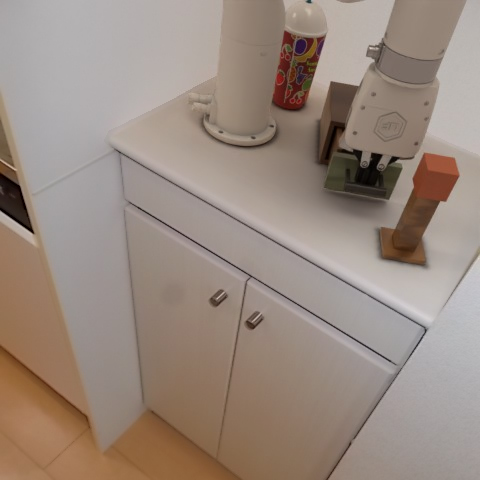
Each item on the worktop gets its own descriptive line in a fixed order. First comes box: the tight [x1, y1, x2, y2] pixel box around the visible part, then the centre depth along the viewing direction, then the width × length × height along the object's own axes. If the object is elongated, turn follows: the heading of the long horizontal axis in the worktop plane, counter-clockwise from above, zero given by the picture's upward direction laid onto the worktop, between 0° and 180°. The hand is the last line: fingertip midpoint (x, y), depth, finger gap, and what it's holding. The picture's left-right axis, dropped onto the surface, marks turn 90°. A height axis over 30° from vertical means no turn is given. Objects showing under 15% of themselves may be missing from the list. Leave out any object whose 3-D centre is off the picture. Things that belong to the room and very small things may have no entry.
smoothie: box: [272, 0, 329, 110], centre depth 92 cm, size 8×8×20 cm
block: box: [412, 152, 461, 203], centre depth 66 cm, size 4×4×4 cm
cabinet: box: [318, 80, 359, 165], centre depth 89 cm, size 14×12×8 cm
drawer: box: [323, 126, 404, 201], centre depth 81 cm, size 17×10×6 cm, turn 174°
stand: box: [379, 187, 441, 266], centre depth 72 cm, size 6×6×10 cm
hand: (362, 187), depth 78 cm, fingers closed
